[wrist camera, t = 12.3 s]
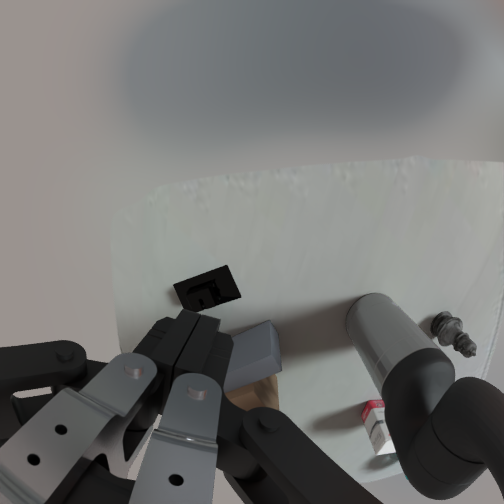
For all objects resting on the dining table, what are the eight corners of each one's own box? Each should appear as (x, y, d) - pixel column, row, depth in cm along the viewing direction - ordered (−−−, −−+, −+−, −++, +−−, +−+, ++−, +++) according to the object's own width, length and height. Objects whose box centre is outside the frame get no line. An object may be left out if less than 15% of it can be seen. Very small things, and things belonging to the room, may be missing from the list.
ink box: (360, 416, 50) (374, 456, 38) (368, 399, 49) (385, 440, 37) (393, 414, 50) (411, 450, 38) (402, 397, 49) (423, 434, 37)
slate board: (278, 334, 45) (281, 370, 36) (178, 375, 48) (164, 412, 38) (269, 319, 45) (271, 354, 35) (169, 363, 47) (152, 399, 38)
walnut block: (277, 377, 47) (280, 425, 36) (219, 398, 49) (210, 445, 37) (255, 344, 46) (253, 391, 34) (195, 369, 48) (180, 415, 36)
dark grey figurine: (438, 307, 44) (474, 337, 32) (457, 312, 44) (493, 341, 32) (424, 335, 45) (456, 369, 33) (444, 339, 45) (476, 371, 33)
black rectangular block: (181, 319, 46) (173, 333, 41) (162, 280, 44) (152, 290, 40) (252, 297, 44) (251, 309, 40) (234, 254, 43) (231, 262, 39)
